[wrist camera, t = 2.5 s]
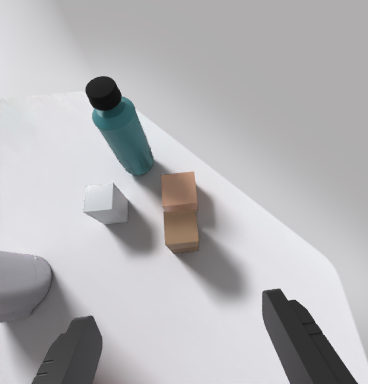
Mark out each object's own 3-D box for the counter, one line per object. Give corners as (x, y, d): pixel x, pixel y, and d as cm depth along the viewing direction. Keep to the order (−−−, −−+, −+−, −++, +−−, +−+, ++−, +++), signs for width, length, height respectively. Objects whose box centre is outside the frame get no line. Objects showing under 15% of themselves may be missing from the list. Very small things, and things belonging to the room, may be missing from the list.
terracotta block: (197, 211, 39) (197, 202, 35) (166, 214, 40) (162, 206, 35) (194, 183, 42) (193, 171, 37) (164, 186, 42) (160, 174, 37)
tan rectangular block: (198, 250, 37) (198, 241, 27) (173, 253, 37) (165, 244, 27) (195, 225, 38) (195, 209, 29) (171, 228, 38) (163, 212, 29)
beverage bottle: (161, 170, 43) (135, 90, 25) (132, 185, 42) (83, 113, 24) (147, 148, 46) (114, 59, 27) (120, 161, 45) (66, 80, 26)
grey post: (127, 222, 39) (111, 209, 32) (104, 224, 39) (83, 212, 32) (128, 200, 41) (113, 183, 34) (105, 202, 41) (85, 185, 34)
